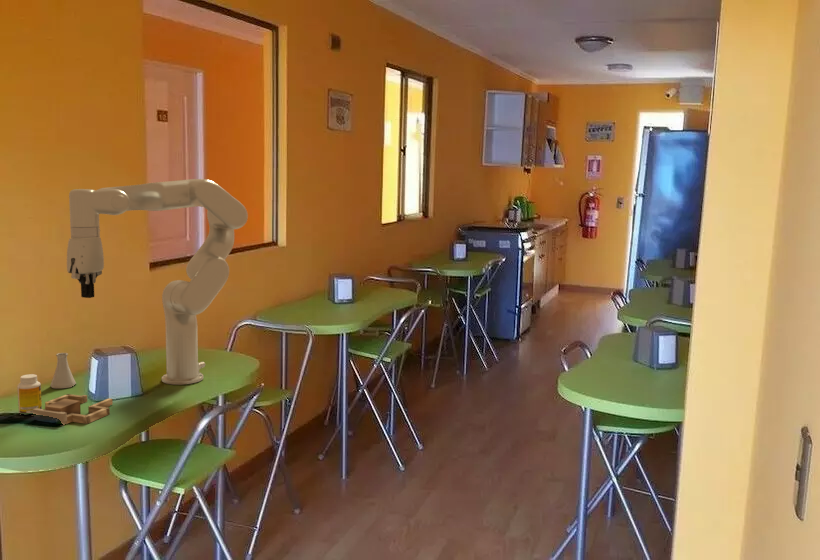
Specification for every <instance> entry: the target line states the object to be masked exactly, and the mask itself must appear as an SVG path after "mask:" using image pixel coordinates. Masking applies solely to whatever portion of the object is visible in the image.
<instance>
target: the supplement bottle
mask: <svg viewBox="0 0 820 560" xmlns="http://www.w3.org/2000/svg"><path fill="white" fill-rule="evenodd" d="M19 378H20V382H19V383H18V384H17V389H16V390H17V403H18V404H17V405H18V414H19V413H33V409H35V408H38V409H43V405H42V401H43V400H42V387H41V386H42V385H41V382H40V381H38V375H37V374H33V373H31V374H30V373H29V374H23V375H21V376H20V377H19Z"/></svg>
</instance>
